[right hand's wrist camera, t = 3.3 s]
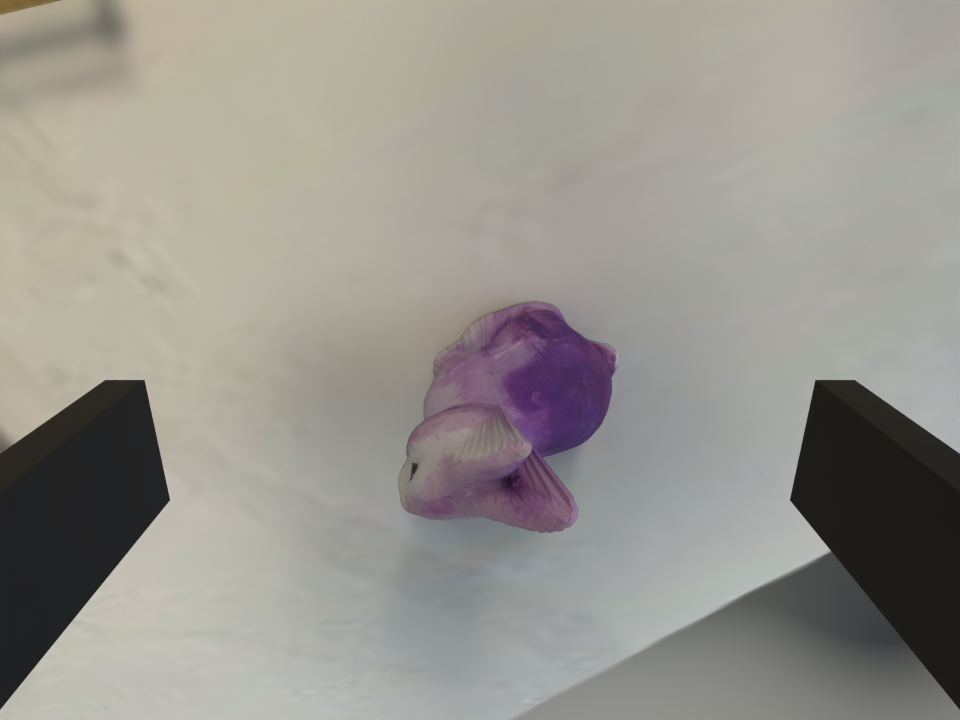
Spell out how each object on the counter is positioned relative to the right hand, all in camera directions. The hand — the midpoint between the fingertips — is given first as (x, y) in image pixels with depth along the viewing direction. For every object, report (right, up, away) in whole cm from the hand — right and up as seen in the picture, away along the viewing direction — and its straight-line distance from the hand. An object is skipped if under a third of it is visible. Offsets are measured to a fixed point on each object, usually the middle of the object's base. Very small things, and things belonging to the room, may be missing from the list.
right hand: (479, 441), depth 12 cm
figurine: (+2, +1, +25) cm, 25 cm away
